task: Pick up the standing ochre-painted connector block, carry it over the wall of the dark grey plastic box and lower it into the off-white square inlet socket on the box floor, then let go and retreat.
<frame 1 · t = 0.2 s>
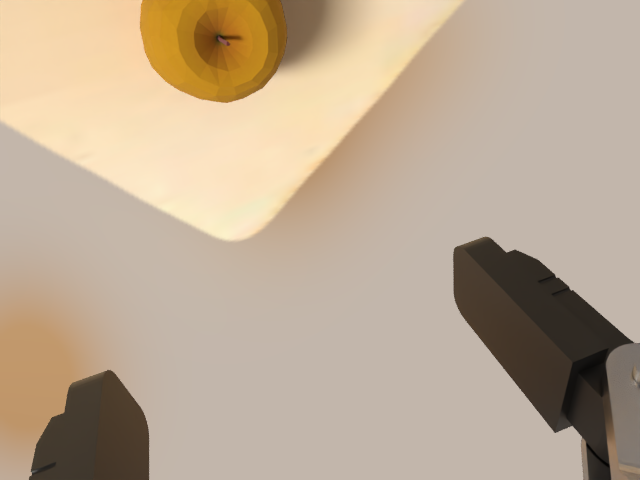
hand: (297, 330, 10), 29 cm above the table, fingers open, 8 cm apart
apple: (206, 17, 32), on the table
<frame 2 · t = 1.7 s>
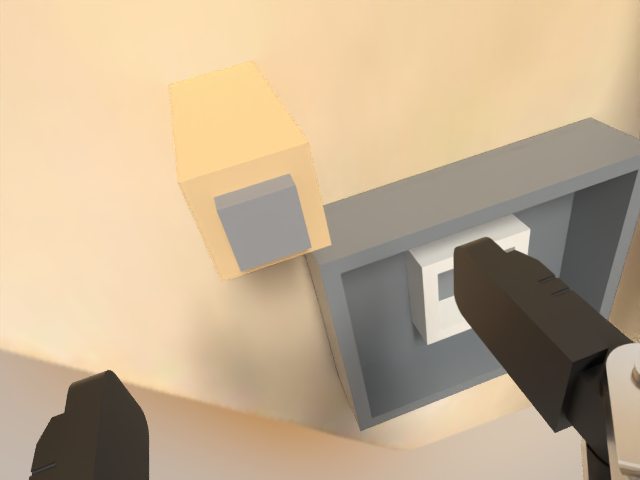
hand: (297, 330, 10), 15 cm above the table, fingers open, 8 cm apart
connector: (224, 113, 23), on the table
box: (450, 261, 33), on the table
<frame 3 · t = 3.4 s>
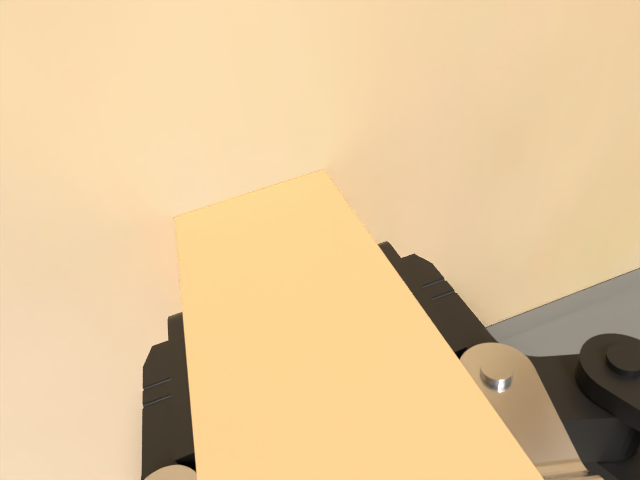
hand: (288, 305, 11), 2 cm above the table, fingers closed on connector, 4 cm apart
connector: (270, 251, 13), on the table, touching gripper
box: (564, 397, 24), on the table
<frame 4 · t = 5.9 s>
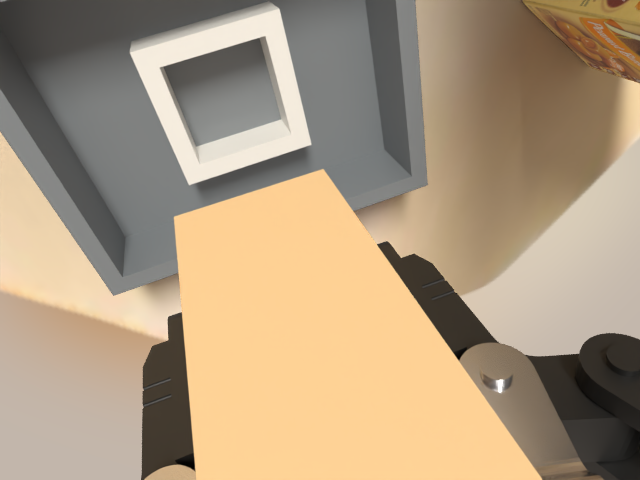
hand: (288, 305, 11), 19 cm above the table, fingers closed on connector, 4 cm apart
candy box: (575, 7, 31), on the table
connector: (269, 251, 13), point 17 cm above the table, touching gripper
box: (222, 85, 27), on the table
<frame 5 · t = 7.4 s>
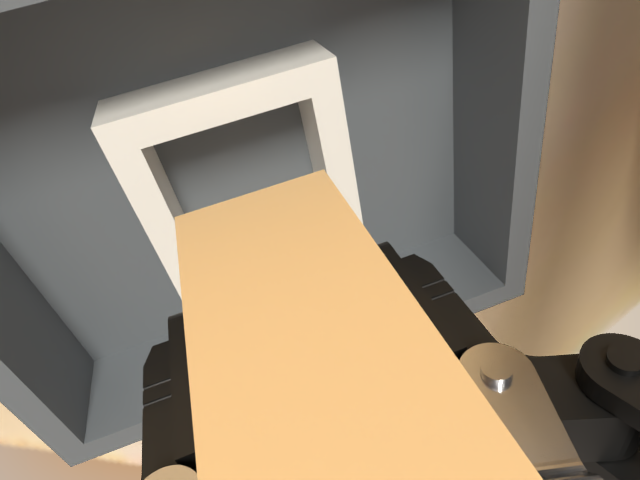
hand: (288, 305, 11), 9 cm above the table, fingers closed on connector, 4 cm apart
connector: (270, 251, 13), point 7 cm above the table, touching gripper
box: (237, 157, 18), on the table
when the fingers open (5 cm above the table, at t = 8.6 s): connector drops 1 cm, resting on box.
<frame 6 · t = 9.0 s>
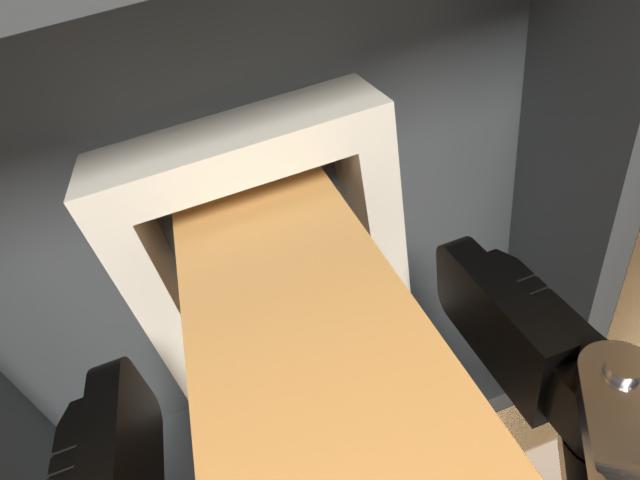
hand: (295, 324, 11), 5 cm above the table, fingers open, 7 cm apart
connector: (258, 224, 14), point 1 cm above the table, touching box
box: (254, 212, 15), on the table
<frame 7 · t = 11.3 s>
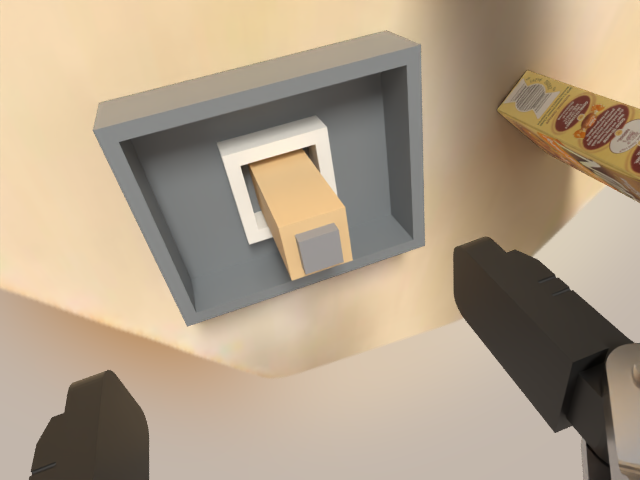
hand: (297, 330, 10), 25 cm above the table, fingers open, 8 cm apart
candy box: (536, 112, 41), on the table
connector: (277, 173, 35), point 1 cm above the table, touching box
box: (275, 169, 36), on the table
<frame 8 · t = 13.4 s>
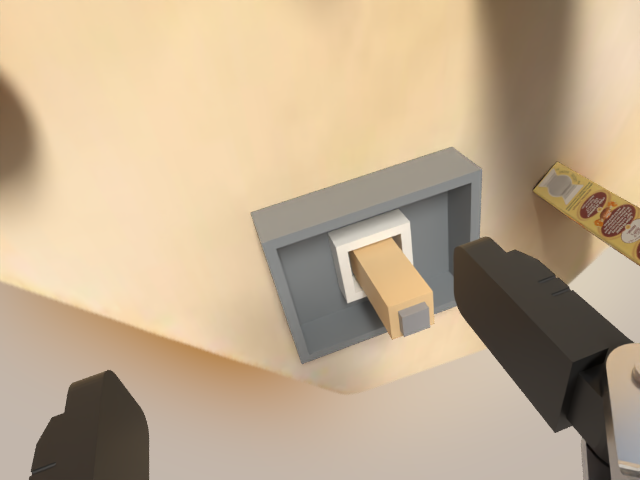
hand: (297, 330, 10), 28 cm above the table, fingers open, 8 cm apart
candy box: (563, 189, 52), on the table
connector: (367, 249, 47), point 1 cm above the table, touching box
box: (364, 245, 47), on the table
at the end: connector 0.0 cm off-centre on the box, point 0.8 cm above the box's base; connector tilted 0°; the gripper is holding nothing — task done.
